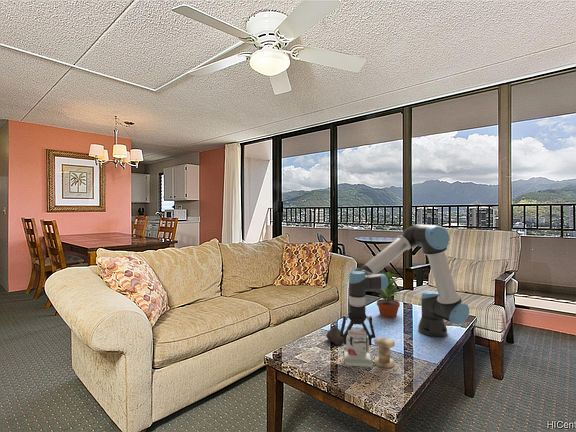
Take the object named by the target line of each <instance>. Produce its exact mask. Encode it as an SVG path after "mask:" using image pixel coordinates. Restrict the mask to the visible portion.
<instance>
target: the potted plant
mask: <svg viewBox="0 0 576 432" xmlns="http://www.w3.org/2000/svg"><path fill="white" fill-rule="evenodd" d="M381 273H382V274H385V275H386V276H387V278H388V287H387V288H386V289H382V290H381V291H382V292H383V293H380V294H378V296H379V297H380V298H381V299H378V300H377V301H376V305H377V308H378V311H379V315H380V317H383V318H384V319H385V318H386V319H395V318H396V317H397V315H398V310H399V308H400V307H401V303H400V301H398V300H395V298H396V295H398V294H400V292H398V291H399V289H396V288H397V287H398V285H396V284H397V282H396V281H398V280H397V279H394V276H395V273H393V274H391V272H389V271H387V272H384V270H381ZM395 282H396V283H395ZM393 296H394V297H393Z"/></svg>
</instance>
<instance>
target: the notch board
mask: <svg viewBox="0 0 576 432" xmlns="http://www.w3.org/2000/svg"><path fill="white" fill-rule="evenodd" d="M343 355H344V365H345V366H351V367H352V366H353V367H366V368H367V367H368V368H373V359H372V358H371V354H370V352H369V353H367V354H366V357H365V356H357V355H349V354H348V352H346V345H344V346H343Z"/></svg>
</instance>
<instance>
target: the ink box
mask: <svg viewBox="0 0 576 432" xmlns="http://www.w3.org/2000/svg"><path fill="white" fill-rule="evenodd" d="M347 336H348V354H349V355H357V356H365V357H366V354H367V337H368V336H367V334H366V331H365V330H364V328H363V327H360V326H352V328H351V330H348V335H347Z"/></svg>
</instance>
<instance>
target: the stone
mask: <svg viewBox="0 0 576 432" xmlns="http://www.w3.org/2000/svg"><path fill="white" fill-rule="evenodd" d="M340 331H341V329H339V327H337V326H334V327H332V328H330V329H329V330H328V331H327V333H326V336H325V337H326V338H327V340H328V341H330V342H331V343H334V344H335V345H336V346H342V345H343V344H344V338H343V337H341V336H340Z"/></svg>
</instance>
